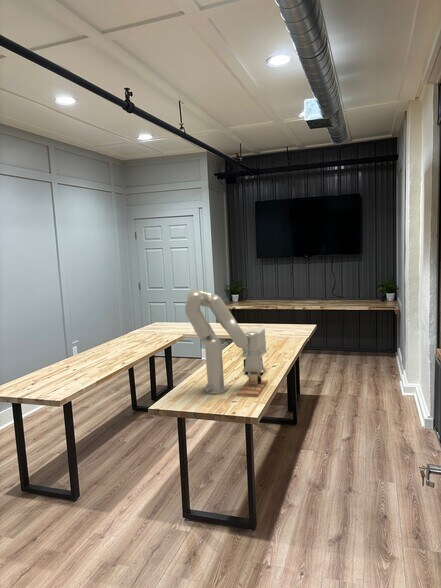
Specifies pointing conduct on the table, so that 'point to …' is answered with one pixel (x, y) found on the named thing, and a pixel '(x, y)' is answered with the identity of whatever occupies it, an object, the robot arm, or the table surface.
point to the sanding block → (253, 378)
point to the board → (252, 389)
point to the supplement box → (261, 341)
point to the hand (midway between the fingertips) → (255, 382)
